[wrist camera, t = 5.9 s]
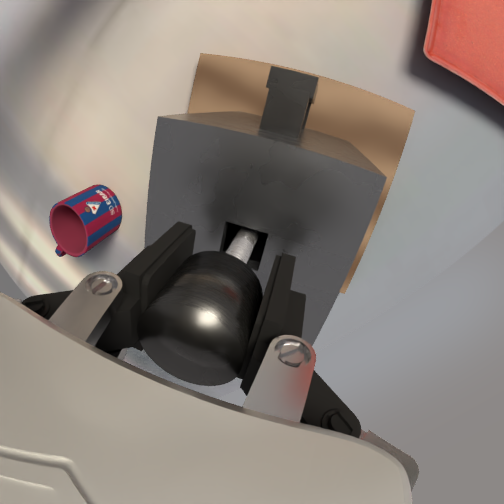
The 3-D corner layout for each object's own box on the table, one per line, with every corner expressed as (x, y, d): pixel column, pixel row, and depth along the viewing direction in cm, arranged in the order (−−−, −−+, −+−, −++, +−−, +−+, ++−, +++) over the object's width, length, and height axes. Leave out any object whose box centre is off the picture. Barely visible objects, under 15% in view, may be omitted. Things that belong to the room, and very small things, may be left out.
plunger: (247, 124, 24) (63, 180, 6) (335, 148, 24) (393, 277, 6) (229, 205, 28) (93, 372, 10) (309, 229, 28) (281, 442, 9)
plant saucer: (549, 24, 10) (563, 22, 7) (535, 141, 19) (552, 147, 16) (429, -58, 11) (437, -70, 8) (410, 61, 20) (421, 55, 17)
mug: (131, 216, 34) (97, 240, 28) (93, 252, 38) (63, 276, 32) (101, 173, 32) (63, 190, 26) (67, 215, 36) (34, 235, 30)
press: (248, 76, 23) (172, 44, 10) (359, 106, 22) (411, 100, 9) (219, 210, 29) (143, 295, 16) (316, 239, 28) (309, 350, 16)
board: (206, 55, 24) (200, 53, 22) (410, 110, 22) (415, 110, 21) (175, 234, 33) (169, 239, 32) (343, 286, 32) (344, 293, 31)
